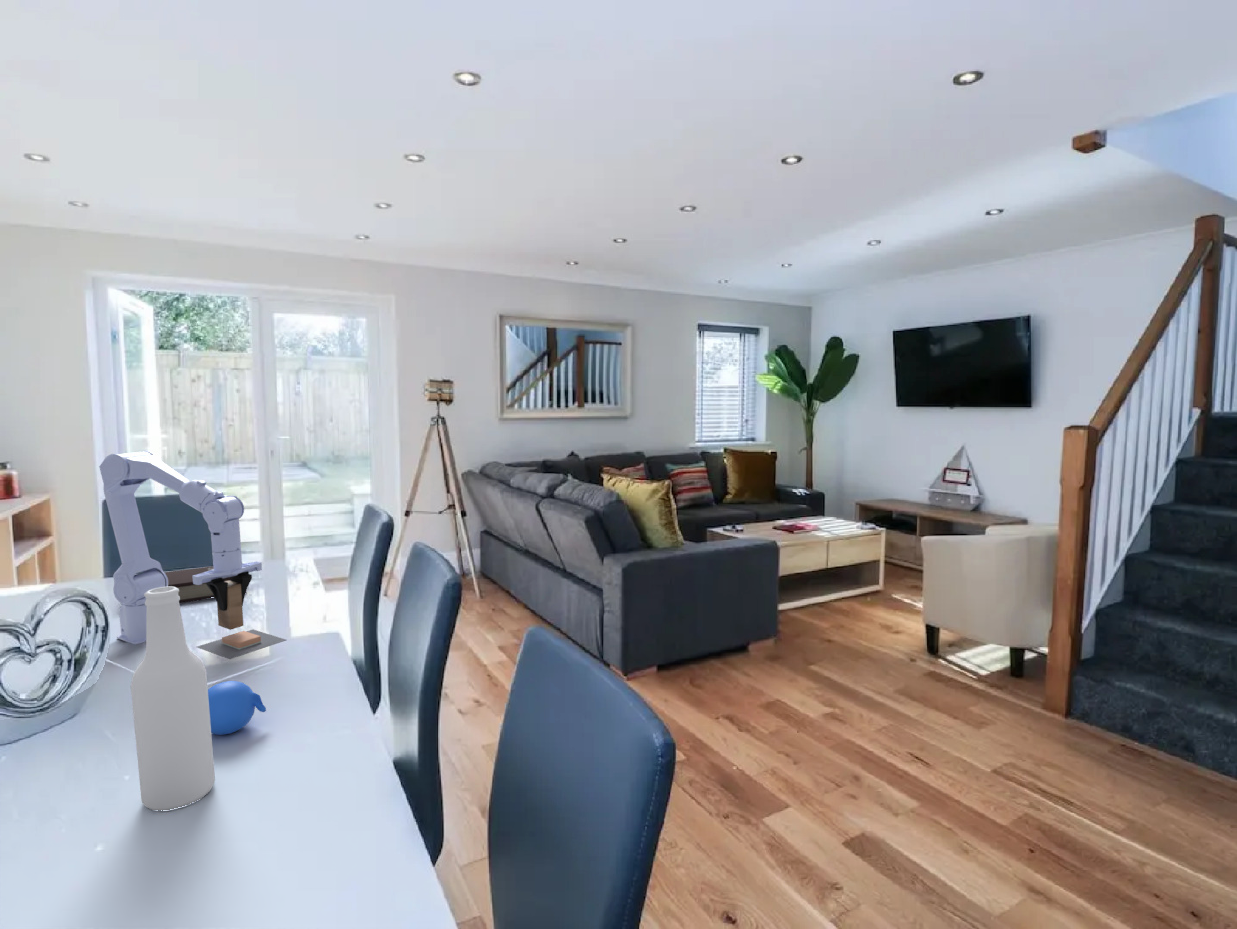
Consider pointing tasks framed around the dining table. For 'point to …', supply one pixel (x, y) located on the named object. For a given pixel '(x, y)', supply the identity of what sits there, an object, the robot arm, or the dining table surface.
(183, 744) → the alcohol
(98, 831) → the dining table surface
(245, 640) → the tile
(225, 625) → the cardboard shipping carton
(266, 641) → the mat
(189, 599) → the book
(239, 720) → the blue rounded blob
